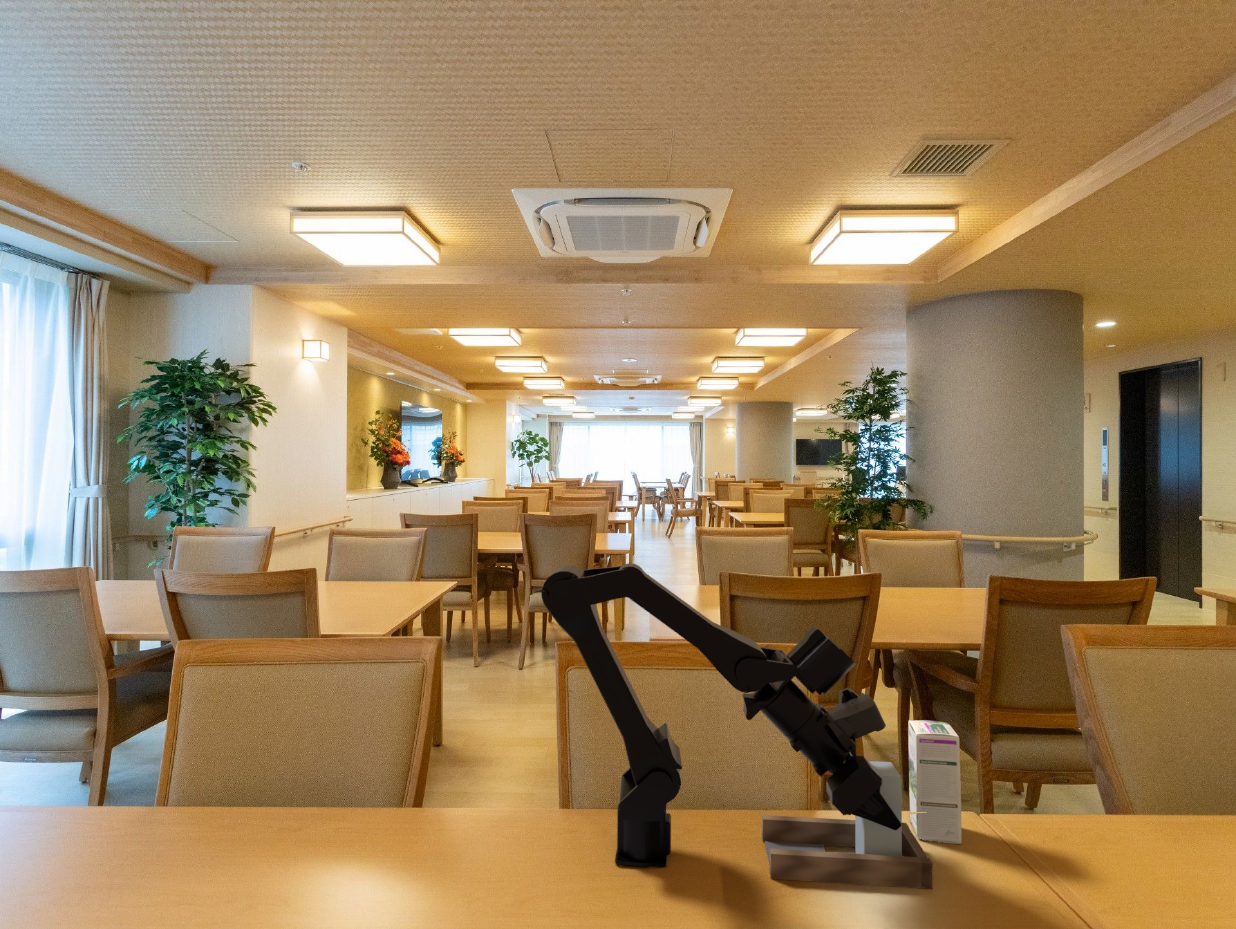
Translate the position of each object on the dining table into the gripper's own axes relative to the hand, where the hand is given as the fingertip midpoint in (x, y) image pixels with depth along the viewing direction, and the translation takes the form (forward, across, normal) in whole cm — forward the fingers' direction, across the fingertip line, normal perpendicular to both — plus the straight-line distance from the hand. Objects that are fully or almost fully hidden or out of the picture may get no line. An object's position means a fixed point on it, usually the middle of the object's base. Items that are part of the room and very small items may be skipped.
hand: (887, 809), depth 88 cm
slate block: (+4, 0, +6) cm, 7 cm away
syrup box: (+11, +9, -1) cm, 14 cm away
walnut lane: (+1, 0, +9) cm, 9 cm away
